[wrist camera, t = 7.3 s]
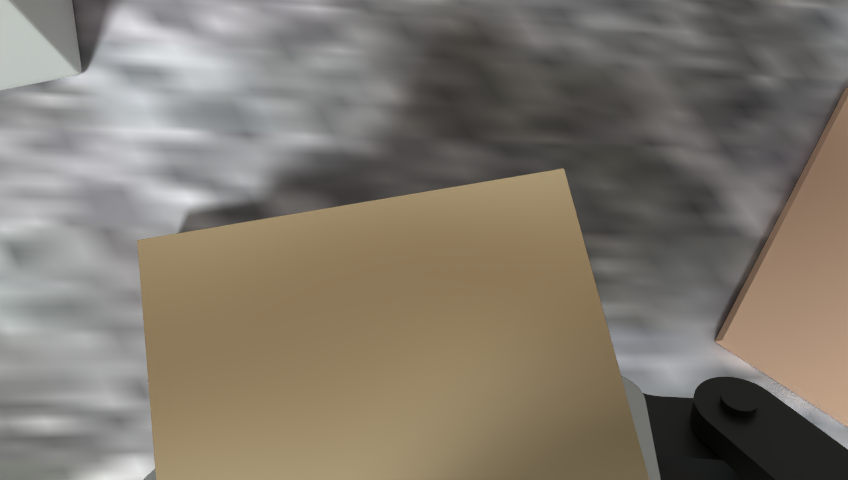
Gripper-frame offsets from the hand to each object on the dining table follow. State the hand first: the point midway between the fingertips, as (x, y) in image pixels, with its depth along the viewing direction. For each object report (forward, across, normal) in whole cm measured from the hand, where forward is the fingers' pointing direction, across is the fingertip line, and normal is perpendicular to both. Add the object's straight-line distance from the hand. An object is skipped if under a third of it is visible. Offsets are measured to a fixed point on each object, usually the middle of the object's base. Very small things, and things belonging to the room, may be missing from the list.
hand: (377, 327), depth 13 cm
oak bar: (+2, 0, +5) cm, 6 cm away
